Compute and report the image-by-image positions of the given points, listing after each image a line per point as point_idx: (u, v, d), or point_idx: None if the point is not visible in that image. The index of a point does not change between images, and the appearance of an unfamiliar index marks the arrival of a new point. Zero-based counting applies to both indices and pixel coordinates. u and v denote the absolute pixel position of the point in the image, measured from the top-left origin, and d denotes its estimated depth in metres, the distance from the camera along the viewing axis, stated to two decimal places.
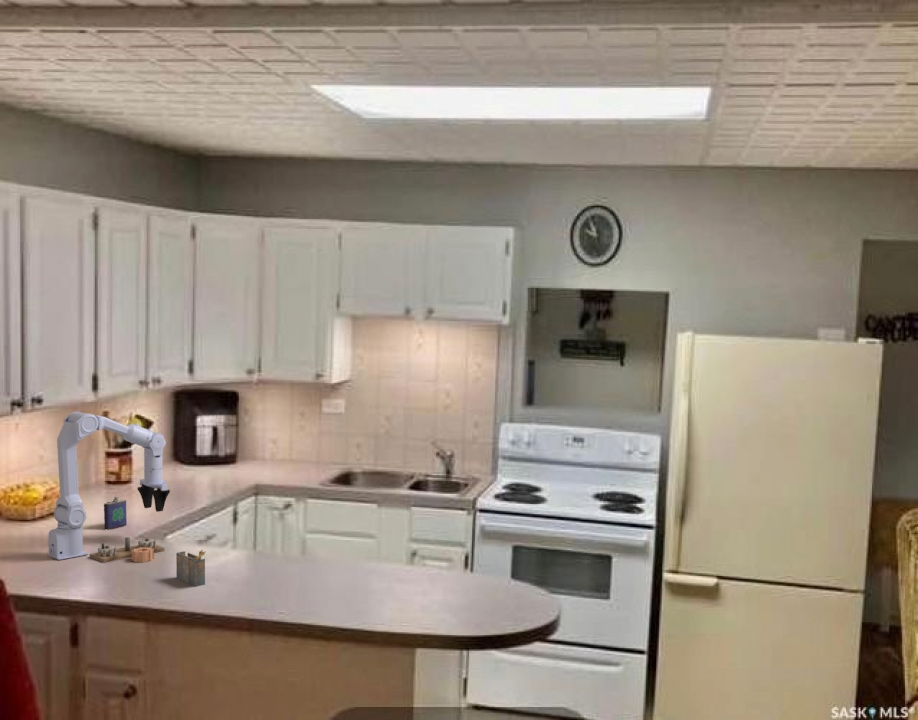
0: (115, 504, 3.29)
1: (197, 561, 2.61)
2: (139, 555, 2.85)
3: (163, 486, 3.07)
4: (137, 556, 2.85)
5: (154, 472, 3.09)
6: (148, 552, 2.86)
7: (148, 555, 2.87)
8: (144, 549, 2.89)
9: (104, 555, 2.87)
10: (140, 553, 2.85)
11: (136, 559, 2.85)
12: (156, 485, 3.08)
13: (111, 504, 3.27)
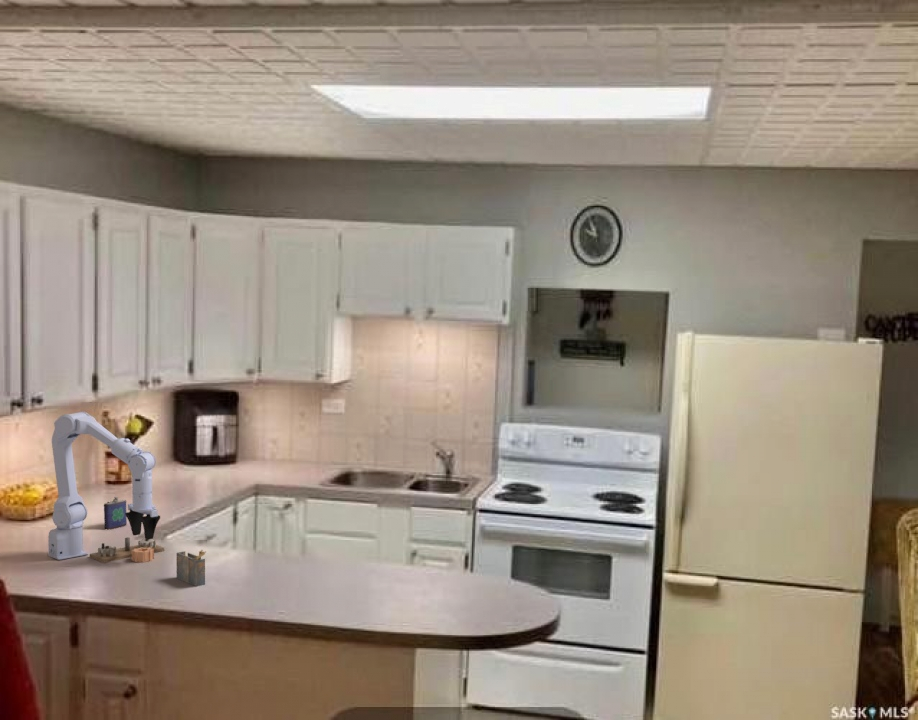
0: (115, 504, 3.29)
1: (197, 561, 2.61)
2: (139, 555, 2.85)
3: (153, 512, 2.82)
4: (137, 556, 2.85)
5: (143, 497, 2.85)
6: (148, 552, 2.86)
7: (148, 555, 2.87)
8: (144, 549, 2.89)
9: (104, 555, 2.87)
10: (140, 553, 2.85)
11: (136, 559, 2.85)
12: (145, 511, 2.83)
13: (111, 504, 3.27)
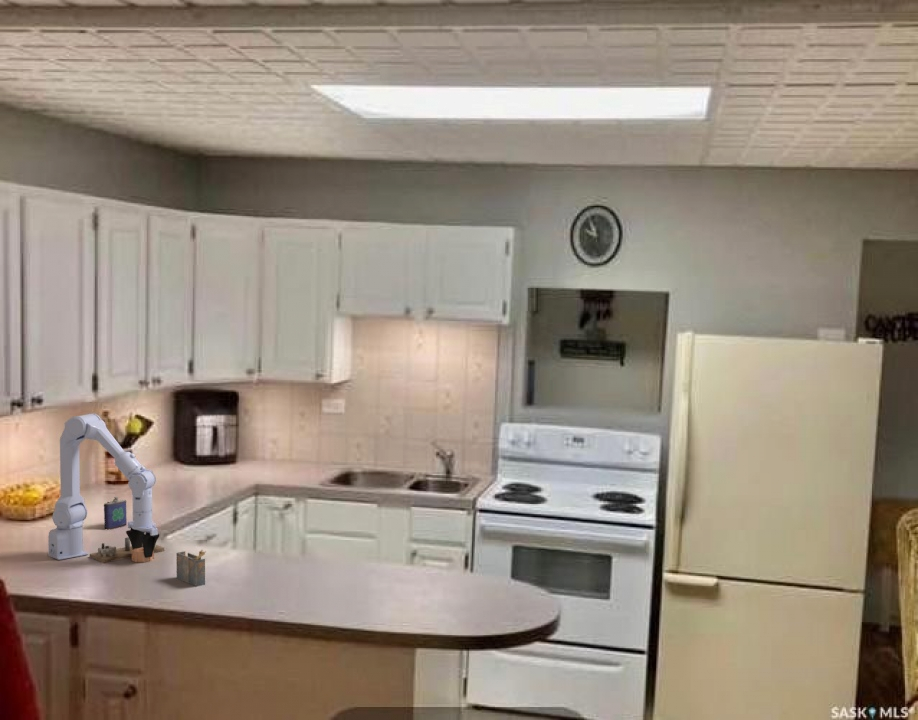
0: (115, 504, 3.29)
1: (197, 561, 2.61)
2: (139, 555, 2.85)
3: (153, 530, 2.82)
4: (137, 556, 2.85)
5: (143, 515, 2.85)
6: None
7: None
8: None
9: (104, 555, 2.87)
10: (140, 553, 2.85)
11: (136, 559, 2.85)
12: (145, 529, 2.83)
13: (111, 504, 3.27)
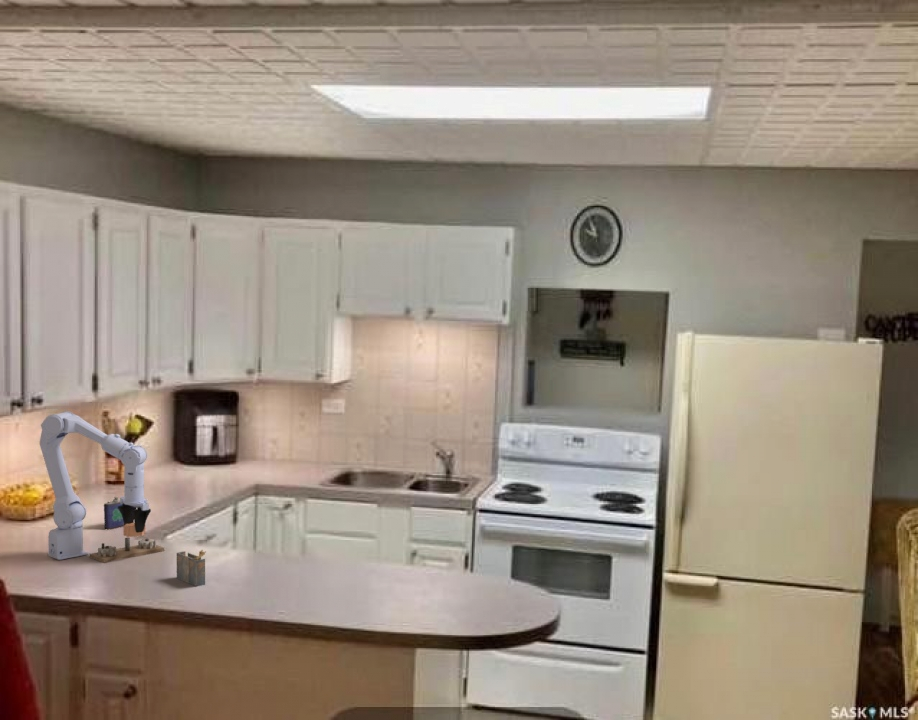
0: (115, 504, 3.29)
1: (198, 561, 2.61)
2: (131, 530, 2.88)
3: (144, 505, 2.85)
4: (129, 531, 2.88)
5: (135, 490, 2.88)
6: None
7: None
8: None
9: (104, 555, 2.87)
10: (132, 528, 2.88)
11: (128, 534, 2.88)
12: (136, 504, 2.86)
13: (111, 504, 3.27)
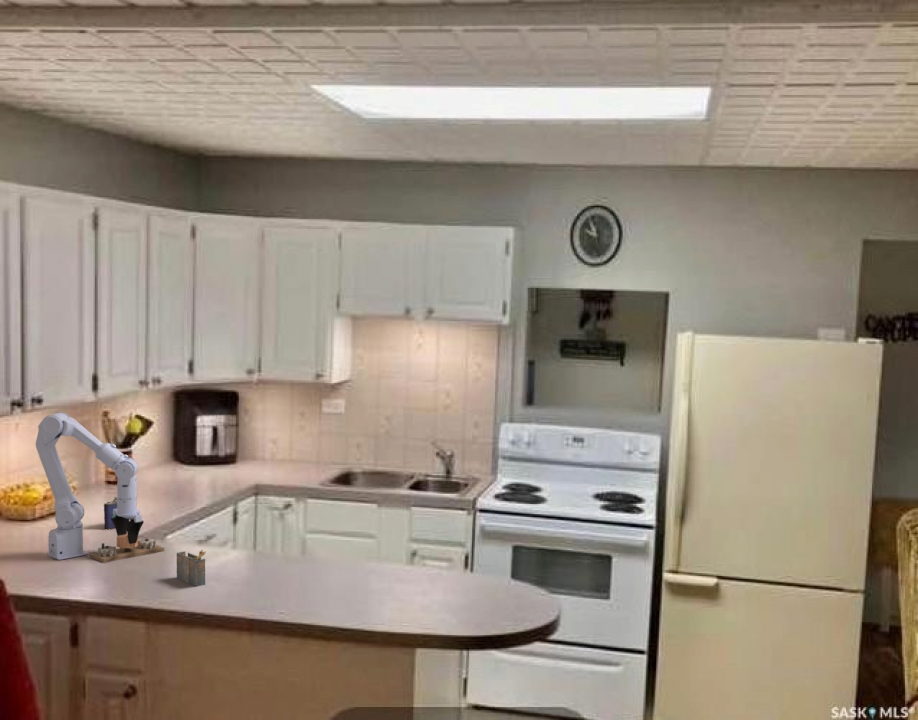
0: (115, 504, 3.29)
1: (198, 561, 2.61)
2: (124, 541, 2.92)
3: (137, 517, 2.89)
4: (122, 542, 2.91)
5: (128, 502, 2.91)
6: None
7: None
8: None
9: (104, 555, 2.87)
10: (125, 539, 2.92)
11: (121, 545, 2.91)
12: (129, 516, 2.90)
13: (111, 504, 3.27)
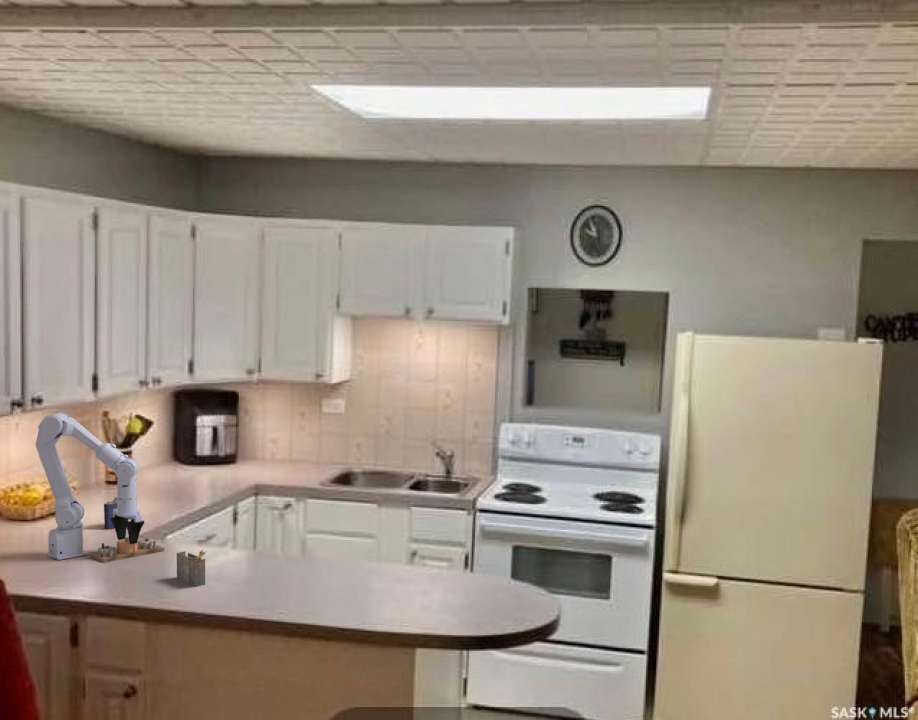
0: (115, 504, 3.29)
1: (198, 561, 2.61)
2: (124, 546, 2.92)
3: (137, 517, 2.89)
4: (122, 547, 2.92)
5: (128, 502, 2.91)
6: None
7: (133, 547, 2.93)
8: None
9: (104, 555, 2.87)
10: (125, 544, 2.92)
11: (121, 550, 2.92)
12: (129, 516, 2.90)
13: (111, 504, 3.27)
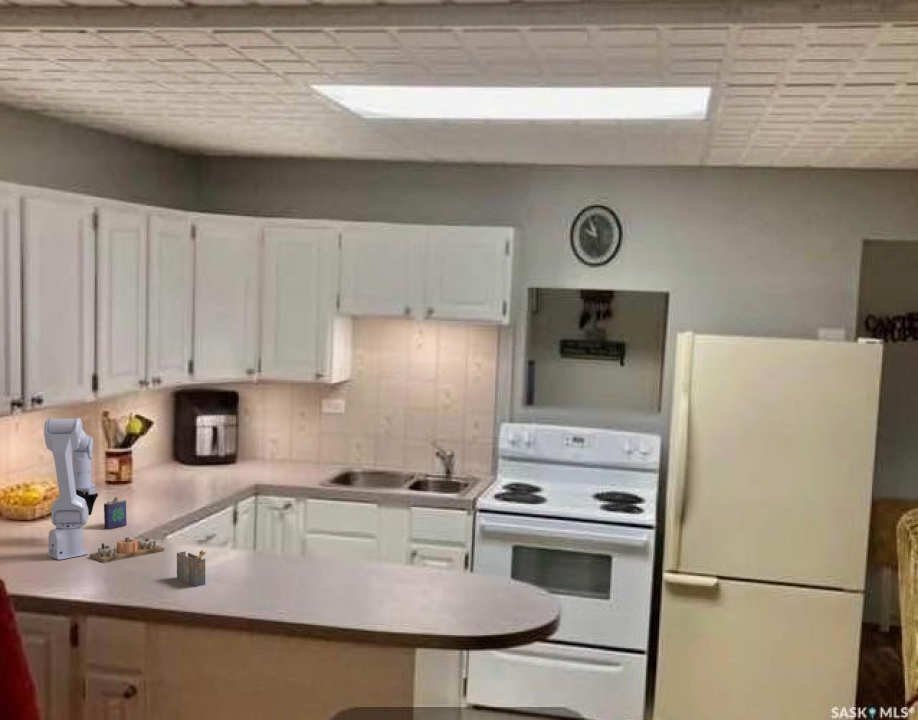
0: (115, 504, 3.29)
1: (198, 561, 2.61)
2: (124, 546, 2.92)
3: (90, 490, 3.03)
4: (122, 547, 2.92)
5: (82, 475, 3.05)
6: (133, 543, 2.93)
7: (133, 547, 2.93)
8: None
9: (104, 555, 2.87)
10: (125, 544, 2.92)
11: (121, 550, 2.92)
12: (83, 489, 3.04)
13: (111, 504, 3.27)
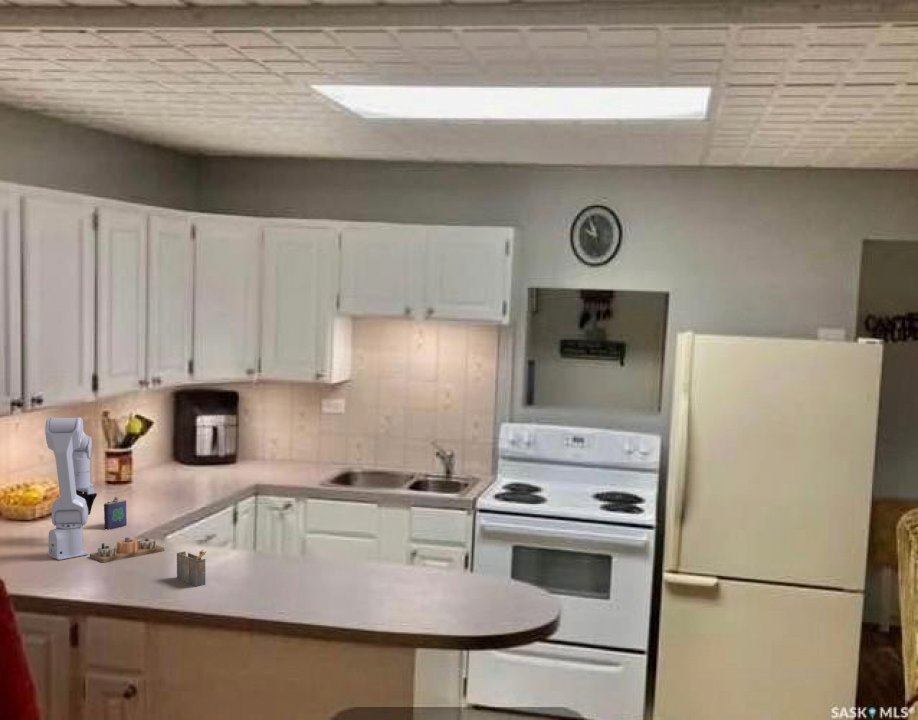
0: (115, 504, 3.29)
1: (198, 561, 2.61)
2: (124, 546, 2.92)
3: (89, 489, 3.03)
4: (122, 547, 2.92)
5: (81, 475, 3.06)
6: (133, 543, 2.93)
7: (133, 547, 2.93)
8: None
9: (104, 555, 2.87)
10: (125, 544, 2.92)
11: (121, 550, 2.92)
12: (82, 489, 3.04)
13: (111, 504, 3.27)
